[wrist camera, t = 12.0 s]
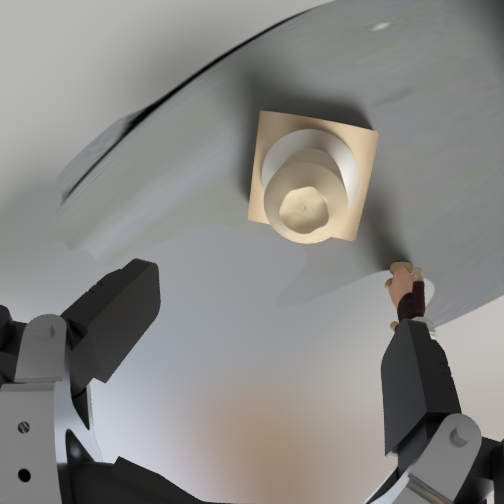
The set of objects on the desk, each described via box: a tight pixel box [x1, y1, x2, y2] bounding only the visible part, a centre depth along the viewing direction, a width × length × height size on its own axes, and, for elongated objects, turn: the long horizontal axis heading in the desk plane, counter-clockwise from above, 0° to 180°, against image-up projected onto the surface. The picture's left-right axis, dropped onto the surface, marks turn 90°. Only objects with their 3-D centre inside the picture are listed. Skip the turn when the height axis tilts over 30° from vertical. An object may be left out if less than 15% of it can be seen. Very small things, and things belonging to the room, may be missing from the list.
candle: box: [264, 149, 348, 244], centre depth 22 cm, size 6×6×10 cm
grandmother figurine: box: [385, 262, 436, 340], centre depth 27 cm, size 8×4×13 cm, turn 6°
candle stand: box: [247, 110, 379, 242], centre depth 28 cm, size 11×11×4 cm
